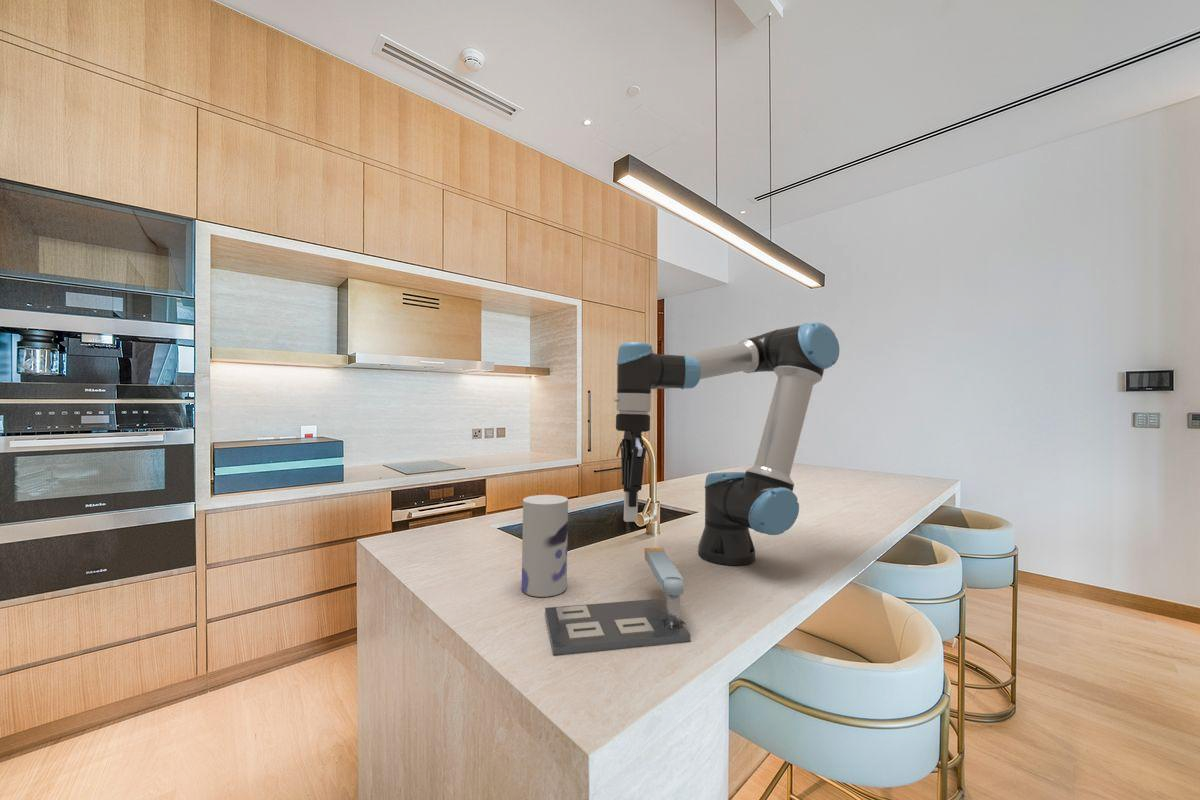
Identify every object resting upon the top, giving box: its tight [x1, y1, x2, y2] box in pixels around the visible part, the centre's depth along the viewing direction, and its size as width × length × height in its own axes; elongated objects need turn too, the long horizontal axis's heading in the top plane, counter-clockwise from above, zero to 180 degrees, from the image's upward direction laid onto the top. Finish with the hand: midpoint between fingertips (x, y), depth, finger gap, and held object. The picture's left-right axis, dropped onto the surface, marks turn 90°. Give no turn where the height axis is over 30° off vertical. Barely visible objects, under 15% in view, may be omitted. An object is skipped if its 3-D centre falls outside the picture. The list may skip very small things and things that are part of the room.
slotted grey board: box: [544, 598, 692, 656], centre depth 84 cm, size 24×15×2 cm, turn 102°
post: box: [661, 594, 686, 629], centre depth 84 cm, size 4×4×7 cm
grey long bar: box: [643, 547, 685, 596], centre depth 92 cm, size 21×4×2 cm, turn 4°
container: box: [521, 494, 569, 598], centre depth 102 cm, size 10×10×20 cm
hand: (630, 520), depth 100 cm, fingers closed
